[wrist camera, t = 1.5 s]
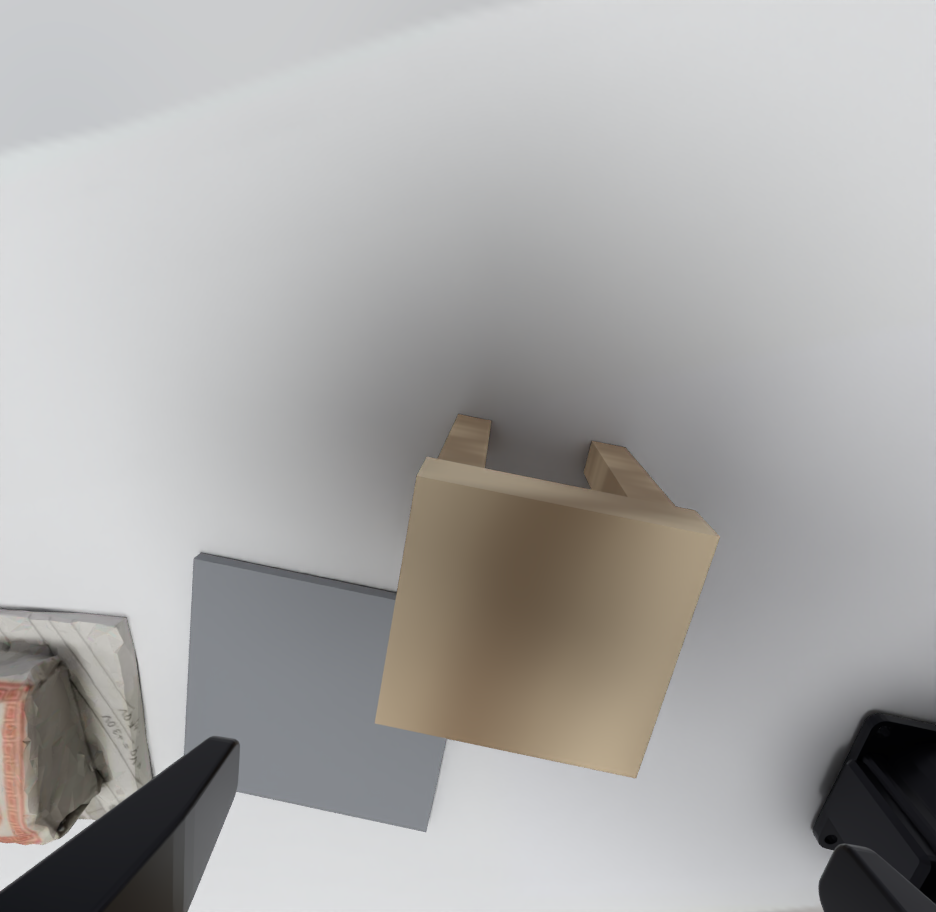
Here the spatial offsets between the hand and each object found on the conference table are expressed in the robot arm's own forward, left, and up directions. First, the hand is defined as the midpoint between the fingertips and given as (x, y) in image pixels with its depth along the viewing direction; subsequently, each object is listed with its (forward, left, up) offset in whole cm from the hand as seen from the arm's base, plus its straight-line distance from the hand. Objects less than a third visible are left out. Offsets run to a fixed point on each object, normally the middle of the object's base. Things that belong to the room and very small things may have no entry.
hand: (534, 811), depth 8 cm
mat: (+6, +10, -12) cm, 17 cm away
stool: (0, 0, -12) cm, 12 cm away
